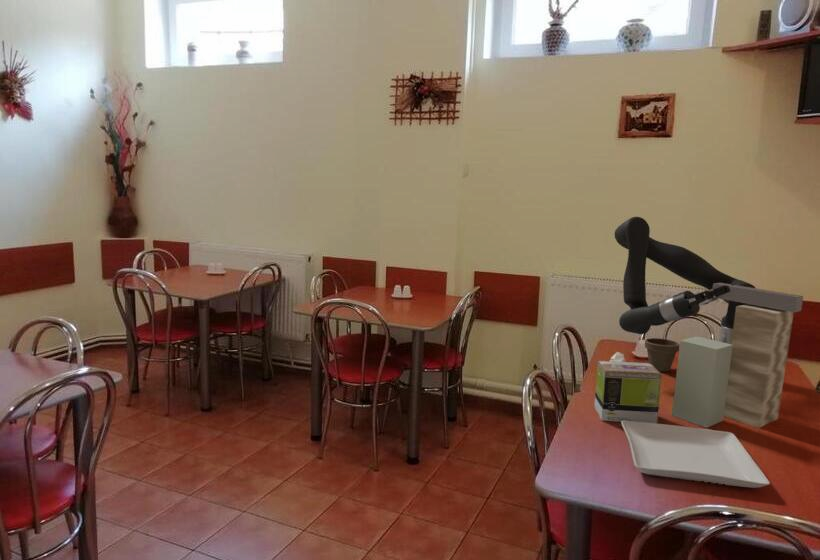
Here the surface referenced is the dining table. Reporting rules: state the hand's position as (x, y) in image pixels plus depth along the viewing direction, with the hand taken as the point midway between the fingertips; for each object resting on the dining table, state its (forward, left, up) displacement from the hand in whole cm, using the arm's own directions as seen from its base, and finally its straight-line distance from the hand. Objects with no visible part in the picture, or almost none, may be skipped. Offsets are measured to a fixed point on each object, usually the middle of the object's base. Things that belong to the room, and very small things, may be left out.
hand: (731, 287), depth 169 cm
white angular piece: (+17, -22, -36) cm, 46 cm away
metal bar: (0, +7, -3) cm, 7 cm away
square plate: (+42, +14, -37) cm, 57 cm away
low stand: (+14, +2, -36) cm, 39 cm away
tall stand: (0, +10, -36) cm, 37 cm away
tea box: (+31, -10, -36) cm, 49 cm away
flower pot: (-19, -29, -36) cm, 50 cm away
